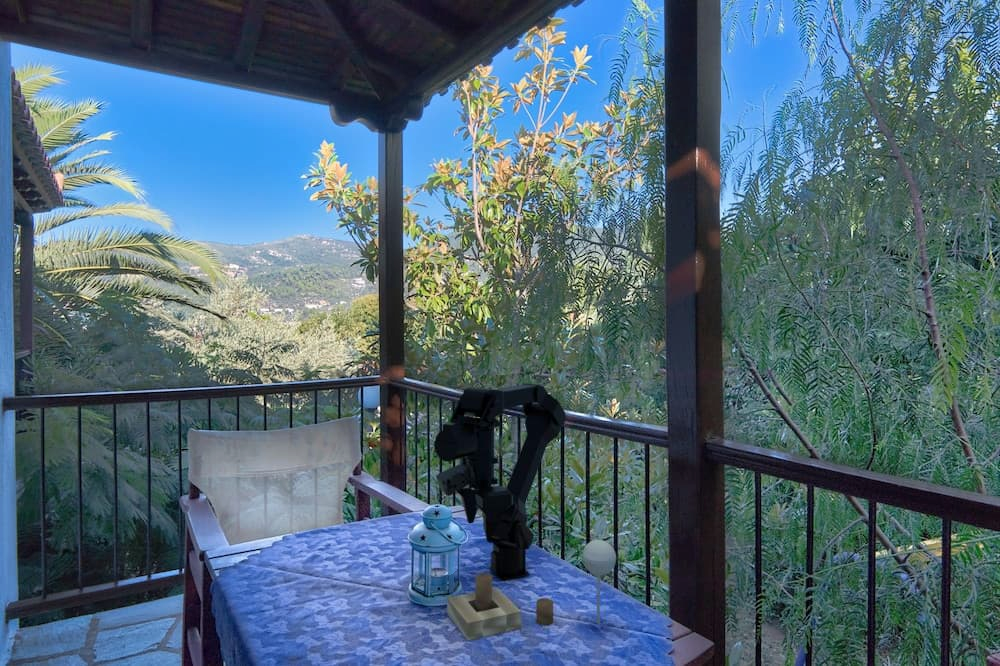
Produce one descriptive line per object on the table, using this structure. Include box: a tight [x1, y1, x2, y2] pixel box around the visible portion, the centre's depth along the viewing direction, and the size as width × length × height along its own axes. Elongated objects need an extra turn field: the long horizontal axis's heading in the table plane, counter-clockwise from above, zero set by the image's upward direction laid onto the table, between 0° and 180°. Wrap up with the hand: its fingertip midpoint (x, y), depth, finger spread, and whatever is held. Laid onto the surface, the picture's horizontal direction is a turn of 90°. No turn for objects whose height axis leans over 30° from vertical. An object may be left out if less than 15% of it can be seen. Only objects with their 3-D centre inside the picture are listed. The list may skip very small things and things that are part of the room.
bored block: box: [446, 587, 522, 642], centre depth 109 cm, size 10×10×3 cm
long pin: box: [474, 572, 493, 612], centre depth 109 cm, size 3×3×8 cm
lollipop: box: [581, 539, 617, 626], centre depth 108 cm, size 6×6×15 cm
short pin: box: [535, 597, 554, 626], centre depth 109 cm, size 3×3×4 cm
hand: (479, 530), depth 121 cm, fingers open, 9 cm apart
